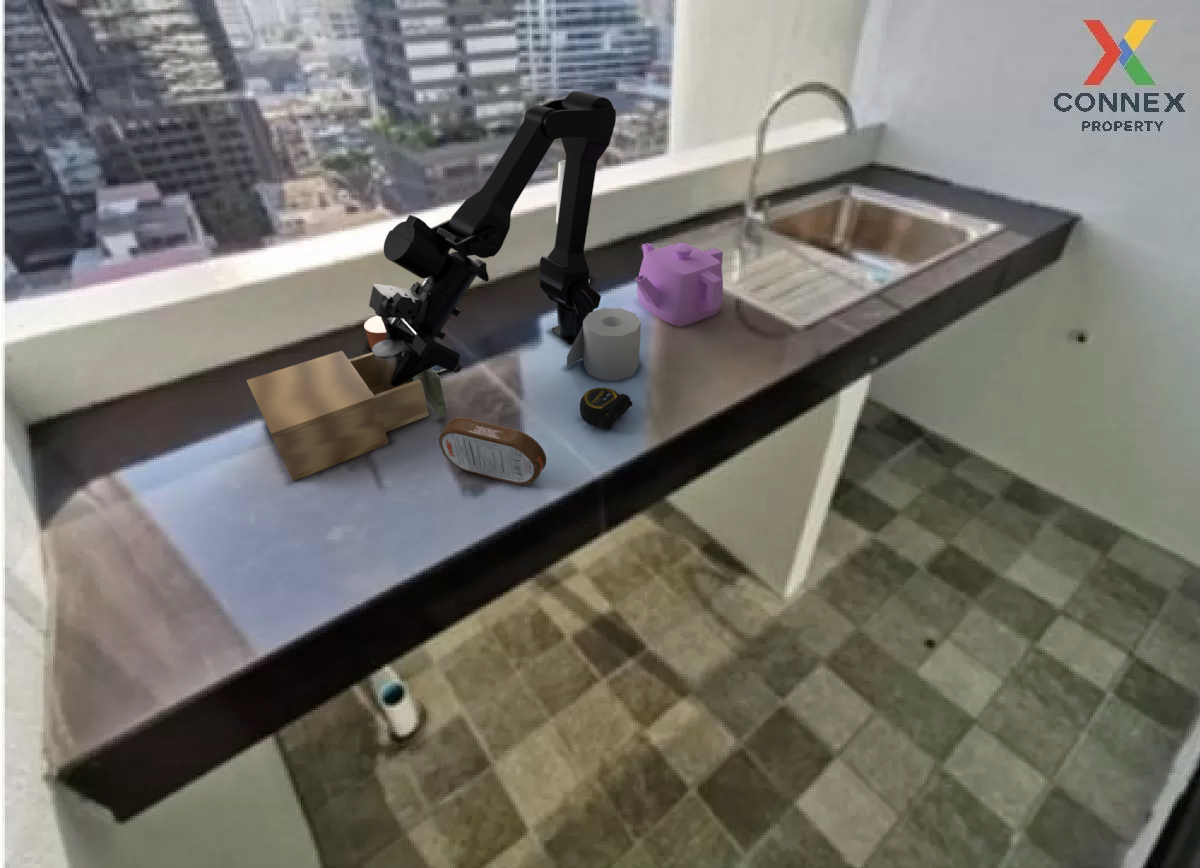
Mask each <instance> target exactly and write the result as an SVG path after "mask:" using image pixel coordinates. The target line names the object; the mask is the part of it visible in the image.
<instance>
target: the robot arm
mask: <svg viewBox="0 0 1200 868" xmlns="http://www.w3.org/2000/svg"><path fill="white" fill-rule="evenodd" d="M616 121H617V109H615V108H614V105H613V103H612V101H611V100H610V99H609V98H607V97H604V96H600V95H595V94H591V93H587V92H584V91H580V90H579V91H578V90H577V91H576V90H575V91H574V90H573V91H572V92H570V93H568V94H567V96H565V98H561V99H560V98H559V99H552V100H549V101H546V102H545V103H542V104H535V105H532V106H530V107H528V109H526V111H525V113H524V115H523V121H522V123H521V125H520V127H519V128H518V130H517V131H516V133H515V134H514V136H513V137H512V139H511V141H510V142H509V144H508V146H507V147H506V150H505V151H504V153H503V154H502V156H501V157H500V159H499V161H498V162H497V164H496V165H495V167H494V169H493V171H492V172H491V174H490V176H489V177H488V179H487V180H486V182H485V184H484V185H483V186H482V187H481V189H479V191H477V192H475V193H474V194H473V195H471V196H469V197H468V198H466V199H465V200H464V201H463V202H462V204H460V206H459V207H458V208H457V210H456V211H455V212H454V213H453V214H452V216H451V218H449V219H447V220H445V221H442V222H440V223H438V224H436V225H435V226H432V227H430V226H429V225H428V224H427V223H426V222H425V221H424V220H423V219H421V218H419V217H418V216H416V215H414V214H412V213H410V214H409V215H408V216H407V218H406V220H405V221H400V222H399V223H397V224H396V225H395V227H393V229H390V230H389V231H388V233H387V234H386V237H385V239H384V243H383V254H384V257H385V258H386V259H387V260H388V261H390V262H392V263H394V264H395V265H397V266H399V267H400V268H402V269H404V270H406V271H408V272H409V273H411V274H413V275H415V276H416V277H418V278H420V279H424V280H423V282H422V283H421V282H419V281H416V282H414V283H412V285H411V287H410V288H409V289H408V288H403V287H400V286H394V285H387V284H380V283H374V284H373V285H372V288H371V294H370V298H369V303H368V307H369V308H371V309H372V310H374V313H375V315H376V316H377V315H378V316H380V317H381V319H382V321H383V323H384V326H385V329H386V338H385V340H389V339H396V340H400V341H402V343H403V347H404V356H403V357H402V359H401V361H400V363H399V365H398V367H397V369H396V371H395V373H394V375H393V377H392V380H391V382H390V384H391V385H392V386H395V387H397V386H399V385H401V384H403V383H404V382H406V381H408V380H409V379H411V378H413V377H414V376H416V375H418V374H420V373H421V372H423V371H425V370H427V369H430V368H432V369H433V368H434V367H436V366H438V367H440V368H442V369H444V368H445V369H447V370H449V371H451V373H455V372H454V371H455V370H456V368H457V367H458V365H459V364H460V363H461V362H462V360H461V353H460V352H459V351H458V350H457V349H456V348H455V347H454V346H453V345H452V344H451V343H450V342H448V341H446V340H444V338H445V337H446V335H447V333H446V332H445V331H444V330H443V328H444V327H445V325H446V324H447V323H448V321H449V320H450V318H451V316H454V317H459V315H460V314H461V310H460V309H459V308H458V306H459V304H460V302H461V300H462V299H463V297H464V295H466V293H467V291H469V289H470V287H471V285H472V284H473V282H474V281H475V279H476V278H479V279H480V280H482V281H484V282H486V283H487V282H489V280H490V277H489V273H488V270H487V263H486V261H484V260H483V259H488V258H491V257H492V258H493V257H494V256H496V255H497V254H498V253H499V251H501V249H502V247H503V246H504V245H503V244H504V243H505V240H506V238H507V236H508V234H509V231H510V229H511V219H512V218H511V217H512V211H513V209H514V207H515V205H516V203H517V201H518V200H519V198H520V196H521V195H522V194H523V192H524V190H525V189H526V187H527V185H528V184H529V182H530V180H531V178H532V177H533V176H534V174H535V172H536V170H537V169H538V168H539V166H540V164H541V162H543V159H544V157H545V156H546V155H547V153H548V151H549V149H550V148H551V146H552V144H553V143H554V142H555V140H558V139H560V140H561V144H562V146H563V150H564V153H565V160H566V161H565V169H564V177H563V185H562V193H561V201H560V209H559V216H558V224H557V223H556V233H555V240H554V241H555V242H554V247H553V249H552V250H551V251H550V252H549V254H548V255H547V256H543V255H542V256H541V257H540V260H539V271H538V274H537V277H536V279H537V280H538V281H539V286H540V289H541V290H542V291H543V293H545V294H546V296H547V298H548V299H549V300H550V301H553V302H554V303H556V314H557V315H556V318H557V325H556V326H553V327H551V328H550V329H551V333H553V334H554V335H555V336H557V337H558V338H560V339H561V341H564V342H565V344H567V345H569V346H572V345H573V344H574V342H575V340H576V338H577V336H578V334H579V332H580V330H581V328H582V326H583V320H584V319H585V318H586V316H587V315H588V314H589V313H590V312H593V311H595V310H596V309H598V308H599V306H600V302H601V299H602V296H601V294H599V293H598V292H596V291H595V290H594V289H593V288H592V287H591V286H590V283H589V279H590V269H589V266H588V265H589V264H588V262H587V259H586V256H585V246H586V245H585V244H586V239H587V233H588V226H589V224H588V219H589V220H590V212H591V205H592V198H593V193H594V185H595V180H596V172H597V167H598V166H597V165H598V162H599V160H600V159H601V157H602V156H603V155H604V153H605V152H606V150H607V149H608V148H609V146H610V144H611V140H612V136H613V133H614V129H615V126H616ZM451 249H452V250H453V252H450V250H451ZM471 256H476V258H470V257H471Z"/></svg>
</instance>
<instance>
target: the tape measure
mask: <svg viewBox="0 0 1200 868" xmlns="http://www.w3.org/2000/svg"><path fill="white" fill-rule="evenodd" d="M633 403H634V401H631V397H630V396H629V395H627V394H625V393H619V392H617V391H616V390H614V389H612V388H609V387H594V388H590V389H588V390H587V391H585V392H584V394H582V396H581V398H580V401H579V414H580V417H581V419H582V420H583V421H584V422H585V423H586V424H587V425H589V426H593V427H597V428H601V429H603V430H610V429H612V428H613V427H614V425H615V424H616V422H617V421H619V419H620V418H621V417H622V416H623V415H625V413H626V412H627V411H628V410H629V409H630V407H633Z"/></svg>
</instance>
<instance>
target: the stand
mask: <svg viewBox="0 0 1200 868" xmlns="http://www.w3.org/2000/svg"><path fill="white" fill-rule="evenodd" d="M363 328H364V332H365V335H366V339H367V342H368V345H369V349H371V350H372V348H373V346H374V345H376V344H377V343H379V342H381V341H384V340H385V338H386V329H385V326H384V323H383V321H382V319H381V317H380V316H378V315H377V314H376V315H374V316H372V317H370V318H369V319H367V320H366V321H365V322H364V325H363Z"/></svg>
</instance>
